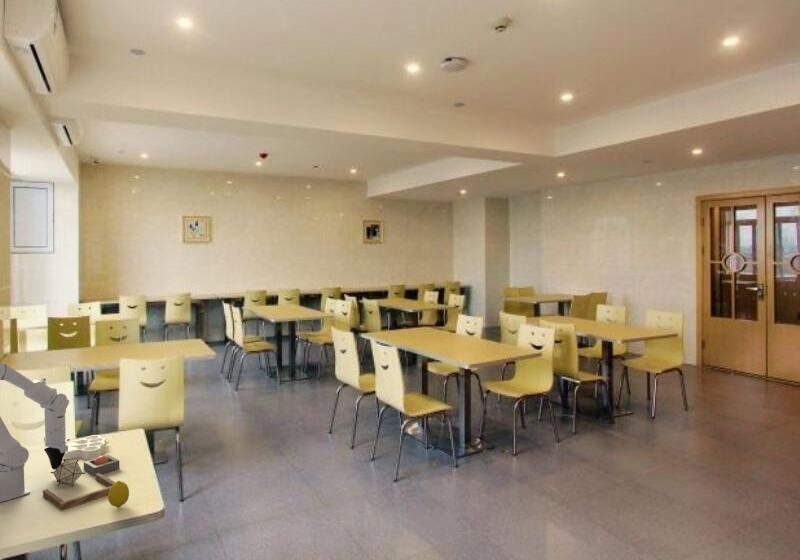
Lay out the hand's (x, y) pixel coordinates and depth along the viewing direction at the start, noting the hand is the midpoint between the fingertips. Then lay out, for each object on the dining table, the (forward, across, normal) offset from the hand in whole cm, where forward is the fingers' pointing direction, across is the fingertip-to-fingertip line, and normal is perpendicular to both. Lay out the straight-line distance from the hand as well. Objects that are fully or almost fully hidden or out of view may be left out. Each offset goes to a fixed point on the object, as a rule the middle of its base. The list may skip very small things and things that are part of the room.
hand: (56, 468), depth 178 cm
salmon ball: (+3, -6, -12) cm, 13 cm away
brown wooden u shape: (+3, -20, 0) cm, 20 cm away
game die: (+3, -10, 0) cm, 10 cm away
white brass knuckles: (+4, +16, -16) cm, 23 cm away
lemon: (+3, -38, -3) cm, 38 cm away
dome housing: (+3, -6, -12) cm, 14 cm away
